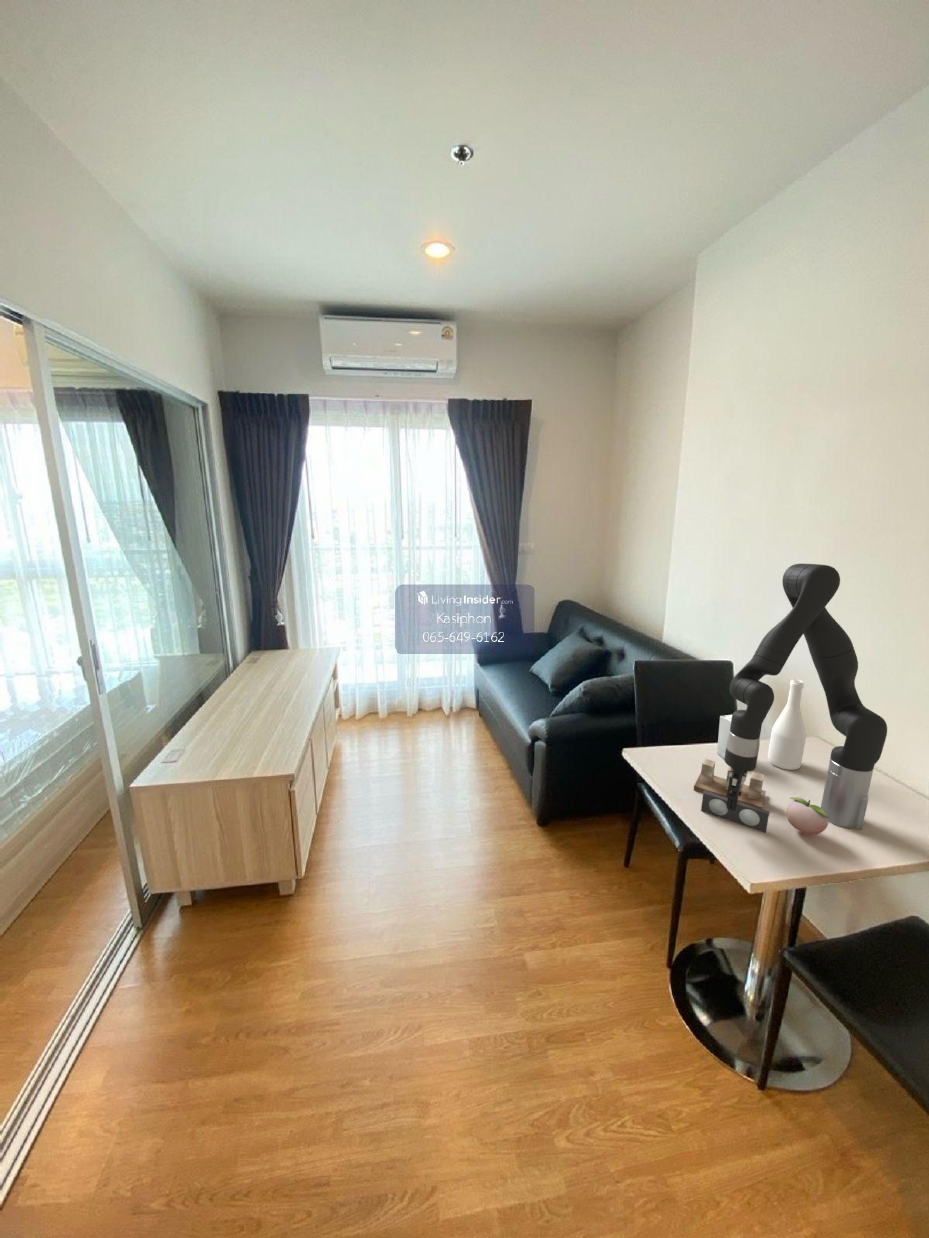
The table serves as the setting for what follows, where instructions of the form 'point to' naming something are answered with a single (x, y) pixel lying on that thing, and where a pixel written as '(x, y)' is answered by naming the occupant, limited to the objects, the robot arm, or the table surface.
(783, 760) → the wine bottle
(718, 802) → the dark flat rectangular bar
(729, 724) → the skincare box
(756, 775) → the wooden peg rack
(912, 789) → the table surface
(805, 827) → the decorative fruit
